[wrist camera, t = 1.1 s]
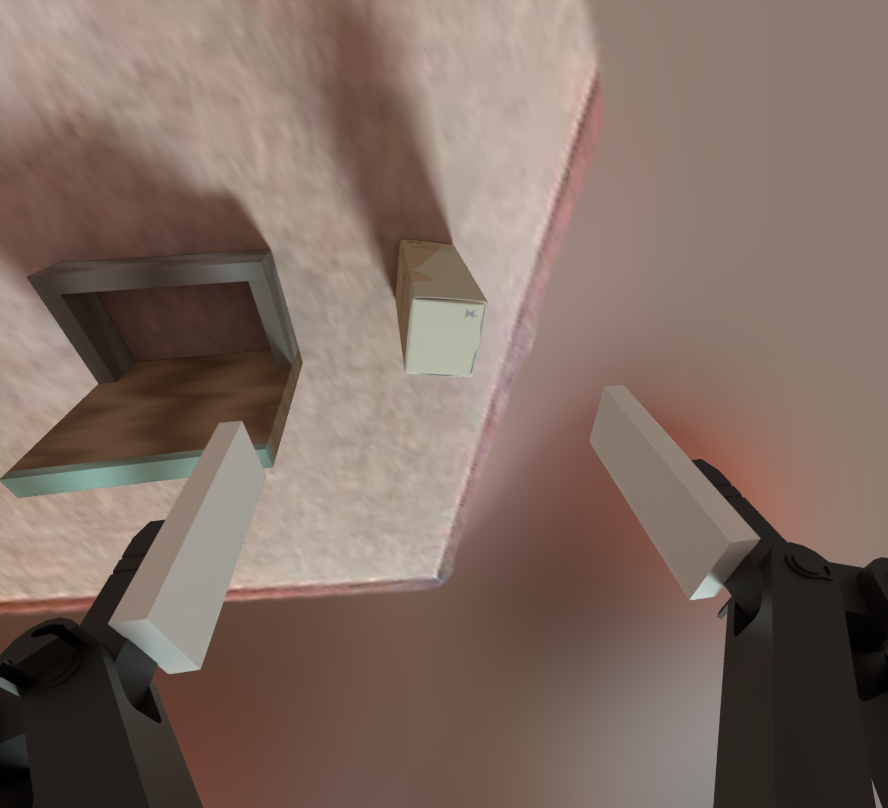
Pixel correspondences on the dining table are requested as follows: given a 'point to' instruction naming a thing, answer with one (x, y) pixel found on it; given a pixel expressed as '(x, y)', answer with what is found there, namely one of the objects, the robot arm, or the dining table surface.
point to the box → (437, 310)
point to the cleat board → (157, 378)
